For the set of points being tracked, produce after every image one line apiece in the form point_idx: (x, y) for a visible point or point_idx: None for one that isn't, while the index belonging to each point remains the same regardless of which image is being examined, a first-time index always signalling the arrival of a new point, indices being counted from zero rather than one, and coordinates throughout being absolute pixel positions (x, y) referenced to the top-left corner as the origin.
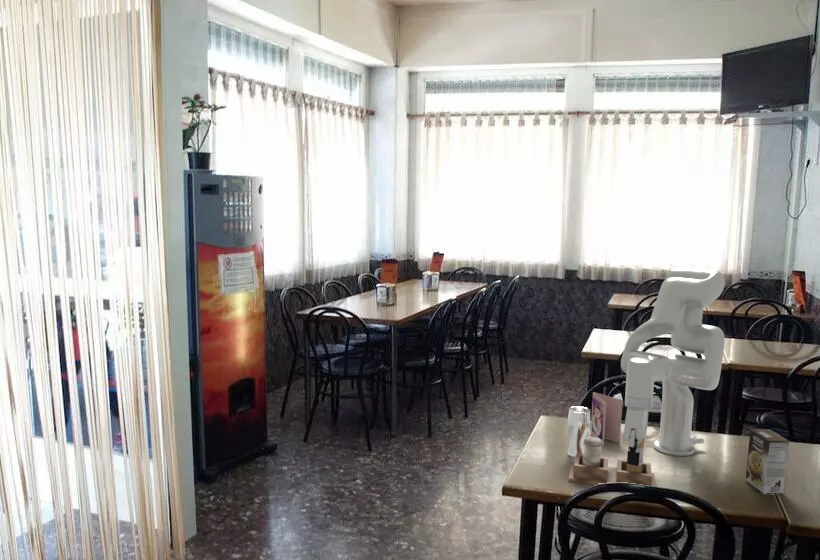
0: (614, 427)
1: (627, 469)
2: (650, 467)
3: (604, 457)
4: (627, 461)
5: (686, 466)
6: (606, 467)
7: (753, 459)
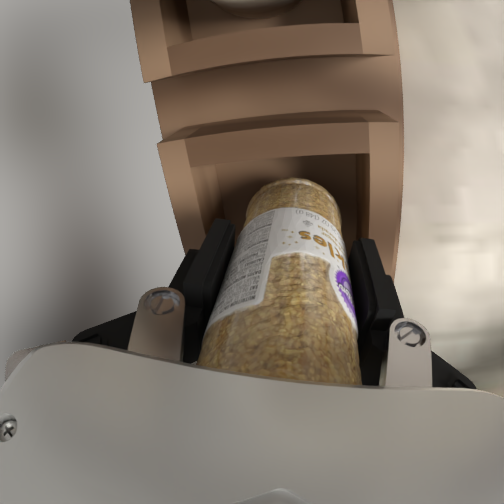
0: None
1: (268, 193)
2: None
3: (385, 26)
4: (213, 226)
5: (486, 356)
6: (185, 64)
7: None
